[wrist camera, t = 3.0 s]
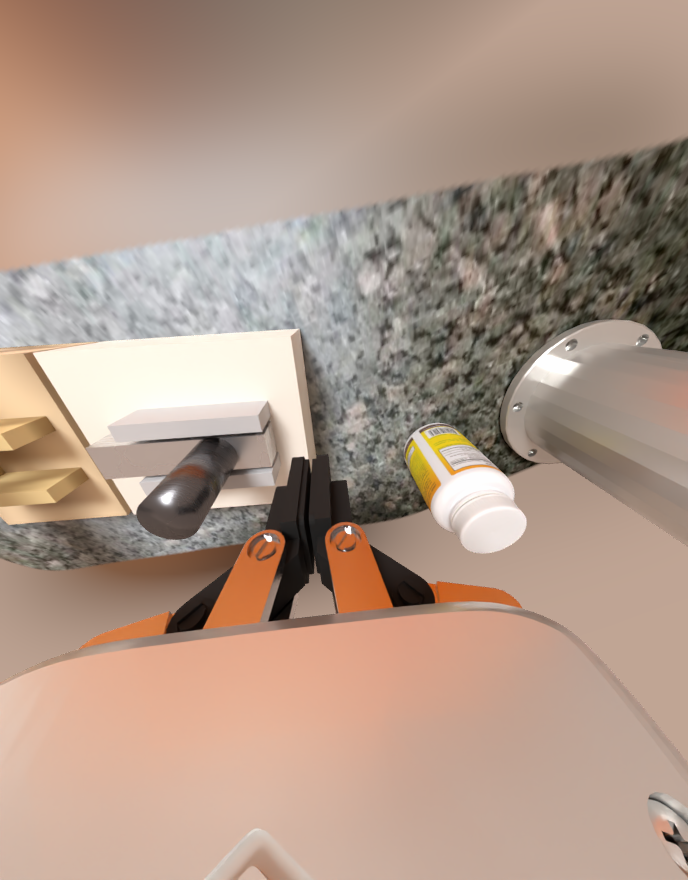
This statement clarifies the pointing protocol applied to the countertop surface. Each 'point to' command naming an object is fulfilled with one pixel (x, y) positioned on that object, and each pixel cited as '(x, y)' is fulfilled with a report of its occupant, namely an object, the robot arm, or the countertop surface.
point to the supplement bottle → (464, 489)
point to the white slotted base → (191, 399)
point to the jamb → (45, 450)
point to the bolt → (182, 473)
